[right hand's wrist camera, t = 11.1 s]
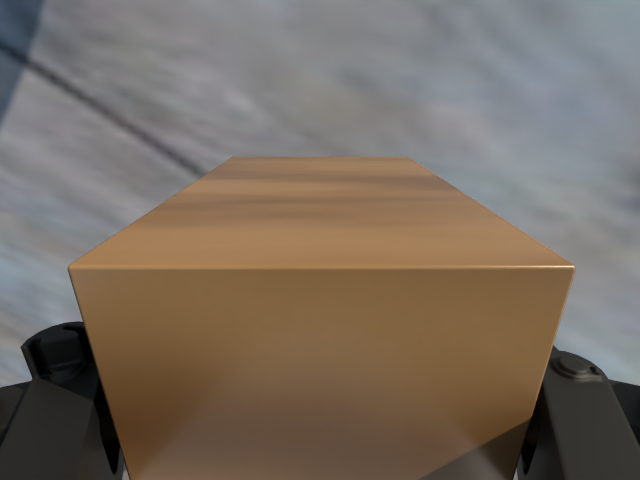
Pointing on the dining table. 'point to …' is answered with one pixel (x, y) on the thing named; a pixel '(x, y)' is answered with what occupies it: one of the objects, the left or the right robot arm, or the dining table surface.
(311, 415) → the block
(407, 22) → the dining table surface
